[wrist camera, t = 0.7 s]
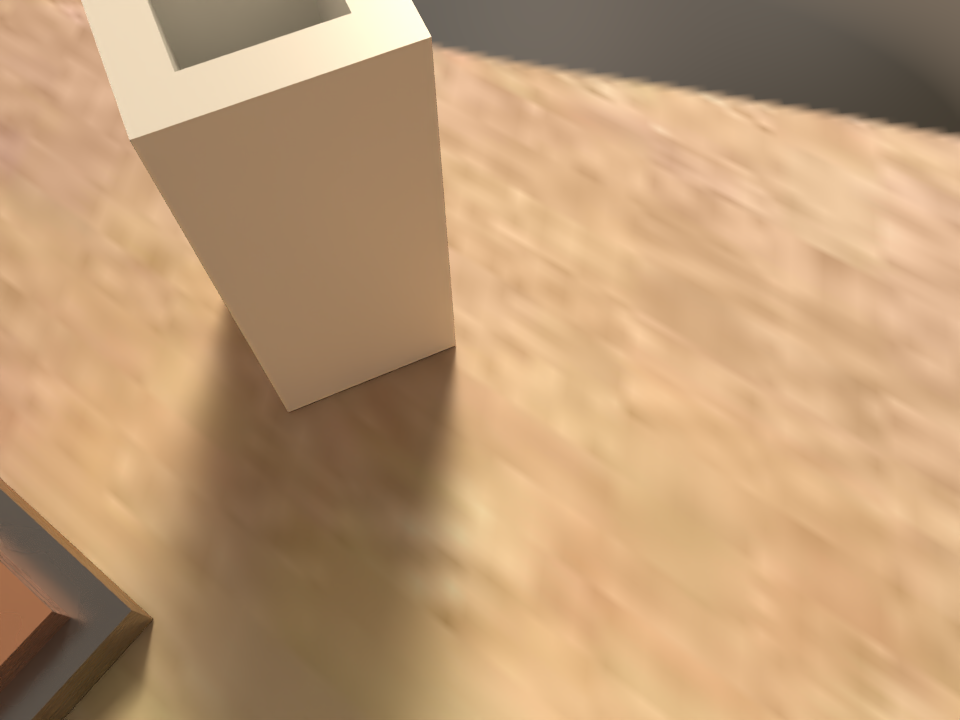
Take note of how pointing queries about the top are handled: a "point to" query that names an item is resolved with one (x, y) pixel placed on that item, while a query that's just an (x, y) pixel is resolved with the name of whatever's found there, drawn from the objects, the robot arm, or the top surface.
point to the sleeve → (296, 172)
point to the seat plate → (54, 617)
